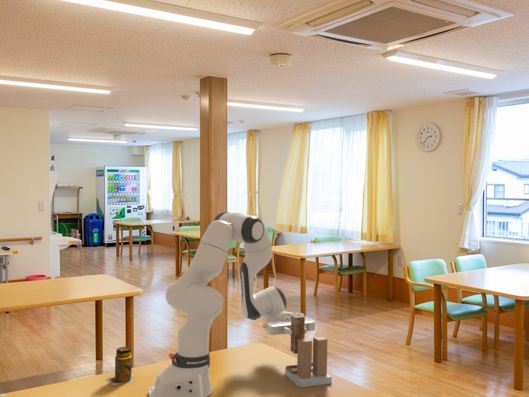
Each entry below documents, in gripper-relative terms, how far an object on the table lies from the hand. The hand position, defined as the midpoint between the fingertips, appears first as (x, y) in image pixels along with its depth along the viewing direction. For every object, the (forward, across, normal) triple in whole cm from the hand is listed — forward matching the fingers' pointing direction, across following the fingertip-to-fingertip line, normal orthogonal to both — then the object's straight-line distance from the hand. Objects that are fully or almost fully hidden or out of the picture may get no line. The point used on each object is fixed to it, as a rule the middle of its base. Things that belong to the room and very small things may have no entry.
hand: (298, 332), depth 196 cm
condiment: (-19, -65, +18) cm, 70 cm away
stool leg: (-1, 0, +8) cm, 8 cm away
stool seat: (+3, +3, +18) cm, 18 cm away
